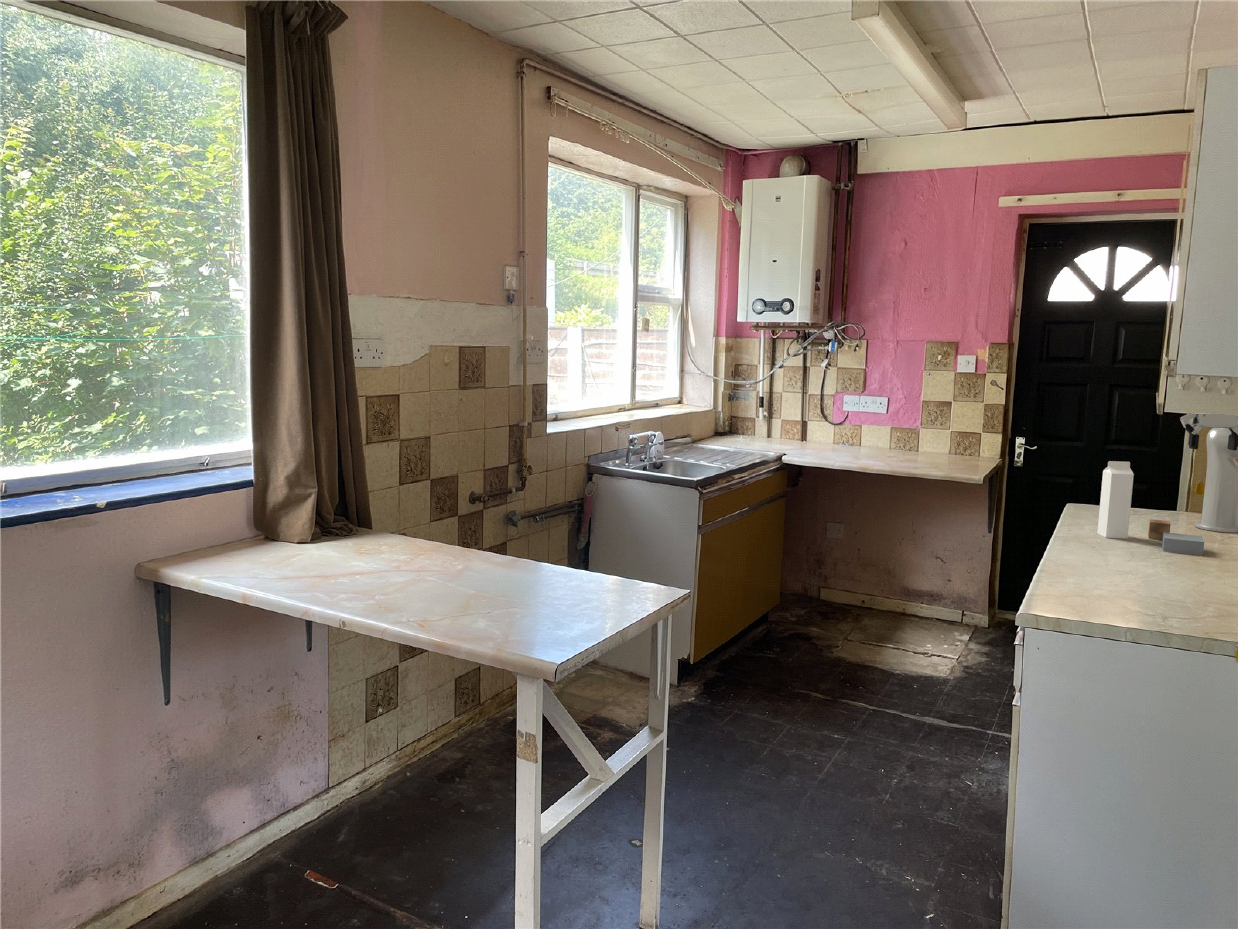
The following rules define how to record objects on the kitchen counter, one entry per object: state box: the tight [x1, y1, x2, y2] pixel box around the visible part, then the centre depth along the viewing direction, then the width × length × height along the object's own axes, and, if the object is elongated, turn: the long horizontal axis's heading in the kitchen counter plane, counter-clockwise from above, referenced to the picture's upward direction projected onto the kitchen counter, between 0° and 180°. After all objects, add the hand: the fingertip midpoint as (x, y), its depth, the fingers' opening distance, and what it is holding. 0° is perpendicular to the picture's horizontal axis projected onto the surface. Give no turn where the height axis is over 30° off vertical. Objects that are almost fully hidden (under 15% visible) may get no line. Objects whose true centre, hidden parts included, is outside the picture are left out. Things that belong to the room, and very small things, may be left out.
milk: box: [1096, 460, 1135, 540], centre depth 253 cm, size 6×6×22 cm
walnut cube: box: [1147, 518, 1171, 541], centre depth 253 cm, size 5×5×5 cm
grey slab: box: [1161, 532, 1205, 556], centre depth 238 cm, size 9×9×4 cm
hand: (1212, 449), depth 233 cm, fingers open, 9 cm apart
